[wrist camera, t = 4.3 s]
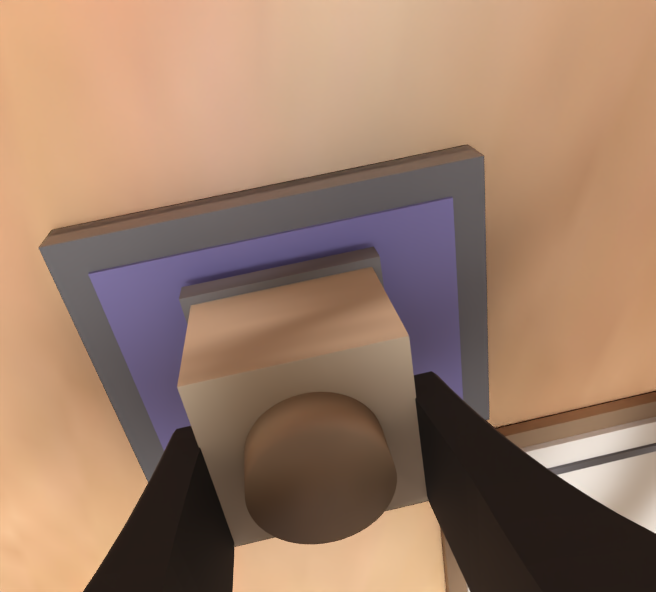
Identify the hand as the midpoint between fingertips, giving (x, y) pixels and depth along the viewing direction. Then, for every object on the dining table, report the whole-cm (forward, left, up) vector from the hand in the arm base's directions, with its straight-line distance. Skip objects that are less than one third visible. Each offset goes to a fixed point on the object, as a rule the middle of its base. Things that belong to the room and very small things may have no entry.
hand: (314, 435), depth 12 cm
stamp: (0, 0, -3) cm, 3 cm away
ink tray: (0, 0, -4) cm, 4 cm away
